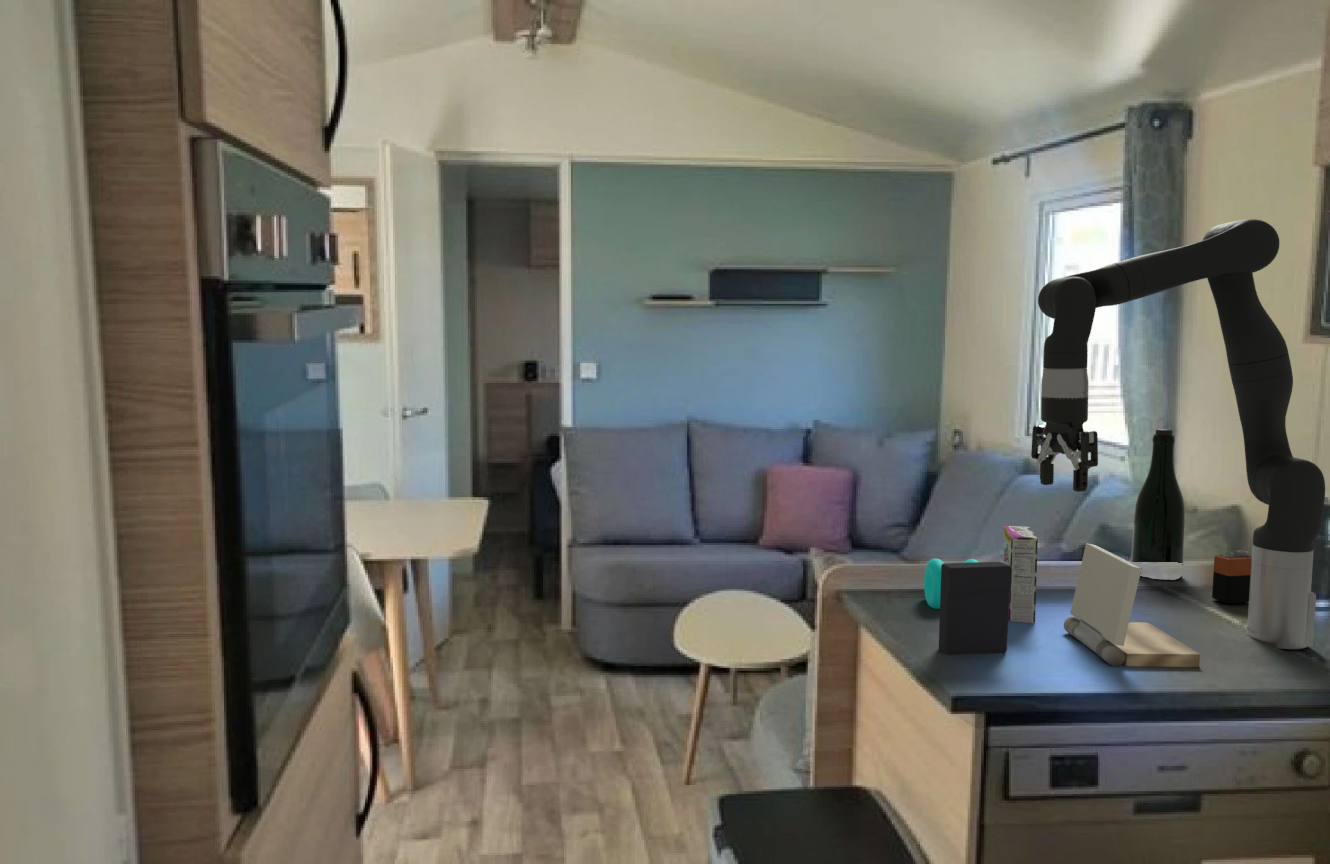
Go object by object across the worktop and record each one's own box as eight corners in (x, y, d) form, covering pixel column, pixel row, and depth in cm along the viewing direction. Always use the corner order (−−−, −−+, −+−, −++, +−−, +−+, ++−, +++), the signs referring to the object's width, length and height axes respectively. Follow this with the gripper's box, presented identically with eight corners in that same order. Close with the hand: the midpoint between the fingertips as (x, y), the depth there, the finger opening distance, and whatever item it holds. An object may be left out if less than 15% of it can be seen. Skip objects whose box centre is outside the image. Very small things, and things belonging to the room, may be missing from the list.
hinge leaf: (1062, 631, 180) (1077, 633, 180) (1105, 663, 163) (1122, 666, 163) (1082, 542, 179) (1098, 545, 179) (1128, 565, 161) (1145, 568, 161)
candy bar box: (999, 607, 197) (1003, 525, 196) (1026, 608, 196) (1030, 526, 195) (1007, 623, 187) (1010, 536, 185) (1035, 625, 186) (1039, 537, 184)
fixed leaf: (1147, 633, 180) (1148, 617, 180) (1199, 666, 162) (1200, 648, 162) (1063, 633, 180) (1064, 616, 180) (1106, 665, 163) (1107, 647, 162)
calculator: (996, 645, 173) (999, 560, 171) (1009, 653, 169) (1012, 565, 167) (936, 648, 171) (939, 562, 169) (947, 656, 167) (950, 568, 165)
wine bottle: (1144, 582, 219) (1152, 431, 215) (1121, 570, 229) (1129, 426, 226) (1192, 582, 219) (1201, 431, 216) (1167, 570, 229) (1175, 426, 226)
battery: (1255, 602, 203) (1258, 553, 202) (1227, 604, 201) (1230, 554, 200) (1238, 596, 207) (1241, 548, 206) (1210, 598, 205) (1213, 550, 204)
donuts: (986, 617, 190) (989, 565, 190) (933, 616, 191) (935, 564, 190) (972, 603, 200) (974, 554, 199) (921, 602, 201) (923, 553, 200)
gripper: (1112, 396, 168) (1110, 492, 169) (1055, 391, 181) (1053, 481, 183) (1074, 397, 165) (1072, 495, 167) (1020, 393, 179) (1018, 483, 181)
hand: (1062, 487), depth 175 cm, fingers open, 8 cm apart
